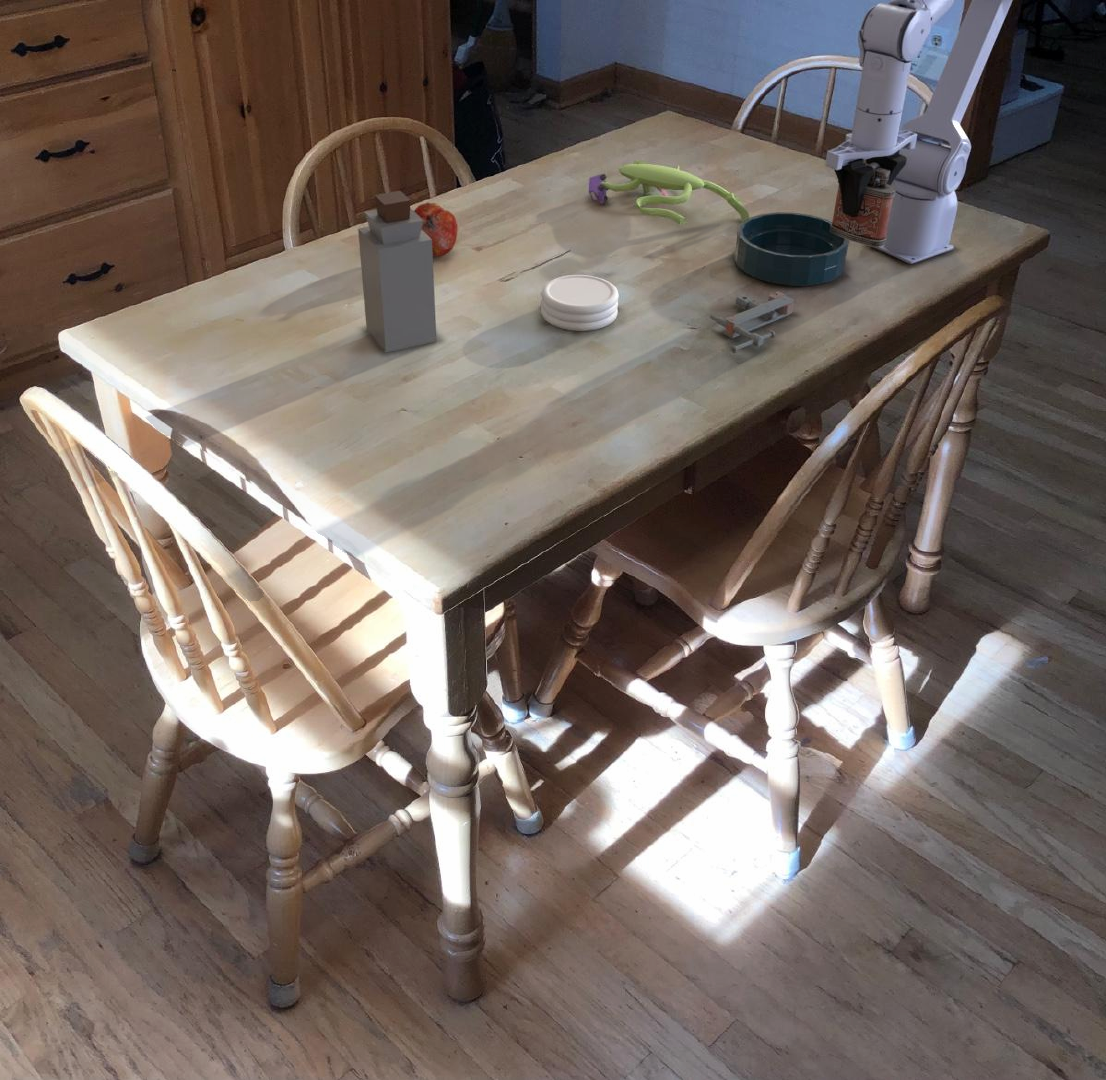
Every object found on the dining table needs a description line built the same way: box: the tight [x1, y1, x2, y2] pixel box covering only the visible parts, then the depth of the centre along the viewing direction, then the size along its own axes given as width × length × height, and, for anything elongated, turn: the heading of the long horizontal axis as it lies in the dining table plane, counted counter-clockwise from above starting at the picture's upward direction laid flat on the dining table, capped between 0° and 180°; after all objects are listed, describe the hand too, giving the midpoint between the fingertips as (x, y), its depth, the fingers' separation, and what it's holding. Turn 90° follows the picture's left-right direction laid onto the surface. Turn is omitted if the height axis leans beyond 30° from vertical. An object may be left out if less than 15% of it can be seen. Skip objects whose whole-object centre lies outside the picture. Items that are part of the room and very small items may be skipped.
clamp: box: [709, 291, 795, 354], centre depth 156 cm, size 15×2×10 cm
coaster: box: [540, 274, 620, 332], centre depth 158 cm, size 10×10×4 cm
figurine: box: [587, 159, 750, 226], centre depth 186 cm, size 18×27×6 cm
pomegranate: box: [413, 202, 459, 257], centre depth 172 cm, size 7×7×10 cm
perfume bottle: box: [357, 190, 438, 353], centre depth 148 cm, size 7×7×18 cm
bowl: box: [734, 211, 850, 287], centre depth 171 cm, size 15×15×4 cm
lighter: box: [830, 161, 896, 248], centre depth 161 cm, size 8×3×10 cm, turn 47°
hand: (861, 211), depth 162 cm, fingers closed on lighter, 4 cm apart
